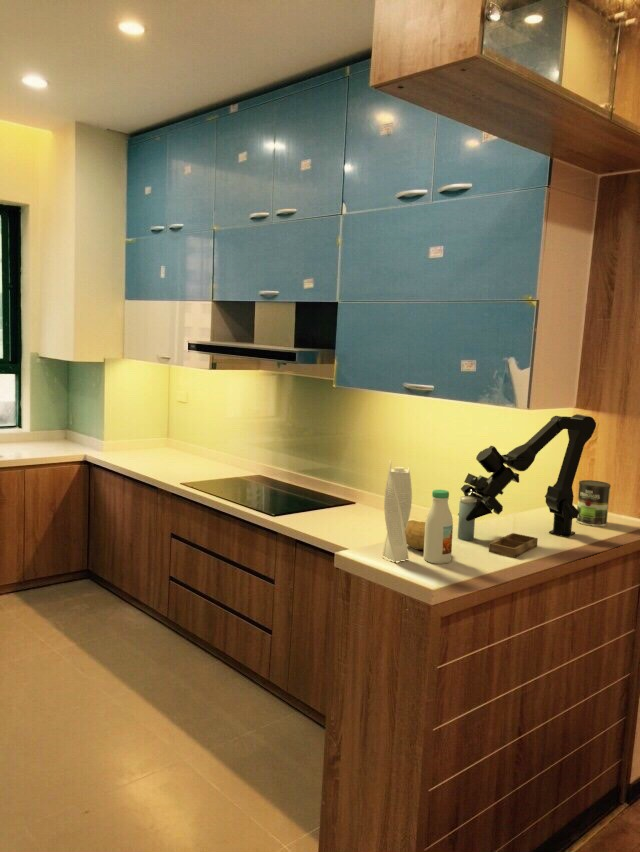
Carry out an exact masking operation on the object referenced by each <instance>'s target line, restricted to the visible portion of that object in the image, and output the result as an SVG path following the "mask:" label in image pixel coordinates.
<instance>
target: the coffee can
mask: <svg viewBox="0 0 640 852" xmlns="http://www.w3.org/2000/svg"><path fill="white" fill-rule="evenodd" d="M611 487H612V486H611V484H610V483H608V482H604V481H599V480H589V479H587V480H586V479H585V480H583V479H582V480H579V481H578V493H577V494H578V496H577V506H576V509H577V510H578V511H579V514H578V517H577V518H575V522H576V521H577V522H576V523H578V524H580V523H581V524H580V525H583V524H585V525H584V526H588V525H592V526H591V527H605V526H607V525H608V515H609V513H608V512H609V503H610V494H611V493H610V492H611V491H610V490H611Z"/></svg>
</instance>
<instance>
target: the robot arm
mask: <svg viewBox="0 0 640 852" xmlns="http://www.w3.org/2000/svg"><path fill="white" fill-rule="evenodd" d="M596 428H597V422H596V420H595V419H594V418H593V417H592V416H588V415H584V414H578V413H576V414H574V415H572V416H563V415H562V416H561V415H554V416H552V417H551V418H550V420H549V421H548V422H547V423H546V424H545V425H544V426H542V428H540V429H539V430H538V431H537V432H536V433H534V435H533V436H532V437H531V438H529V439H528V440H527V441H526V442H525V443H523V444H521V445H518V446H516V447H515V448H513V449H512V450H510V451H509V452H507V454H501V453H500V452H499V451H498V449H497V448H496V447H495V445H490V446H489V447H486V448H484V449H482V450H481V451H479V452H478V454H477V455H476V459H475V460H476V461H477V462H478V463H479V464H480V465H481V467H482V468H483V469H484V470H485V471H486V472H487V473H489V474H491V475H490V476H489V477H486V476H483V475H480V474H479V476H476V475H474V474H472V473H468V474H467V476H466V477H465V480H464V481H463V483H465V484H464V485H463V486H462V487H461V488H460V490H461V491H462V492H463V495H464V496H470V497H474V498H476V499H475V503H476V506H475V507H474V508H473V510H472V511H471V512H470V513H469V515H468V516H467V517H466V520H467V521H470V520H473V519H475V520H476V519H478V518H481V517H483V516H486V515H490V514H493V513H494V514H496V515H500V514H501V513H502V512H504V511H503V509H504V506H503V505H502V503H501V502H500V501H499V500H498V499H497V498H496V497H498V495H500V496H503V494H504V490H505V488H506V487H507V486H508V485H509V484H510V483H511V482H515V483H520V474H519V473H516V472H514V470H515V471H518V472H525V471H527V470H528V469H529V468H530V467H531V465H532V464H533V463H534V462H535V459H536V456H537V455H538V453H540V451H541V450H542V449H544V448H545V447H546V446H547V445H548V444H549V443H550V442H551V441H552V440H553V439H554V438H556V437H557V436H558V435H559V434H560V433H561V432H562V431H563V430H567V437H568V444H567V446H566V448H565V453H564V456H563V459H562V460H563V461H562V463H561V466H560V470H559V474H558V476H557V480H556V482H555V483H554V485H548V486H547V489H546V494H545V495H544V498H545V504H546V506H547V507H548V509H549V513H553V523H552V525H553V527H552V530H549V531H548V534H550V533H551V534H552V535H556V536H560V535H562V537H565V536H566V537H565V538H569V537H571V536H573V535H574V534H576V531H572V529H573V519H576V518H577V517H578V514H579V511H578V510H577V507H576V506H574V504H573V503H574V496H575V495H574V490H573V485H574V481H575V478H576V475H577V472H578V467H579V464H580V461H581V458H582V454H583V451H584V448H585V445H586V444H587V442H588V441H589V440H590V439H591V438H592V437H593V434H594V433H595V430H596ZM505 465H506V466H507V467H506V466H505ZM512 469H513V470H512ZM492 511H493V512H492ZM457 516H459V512H458V514H457ZM551 534H550V535H551Z"/></svg>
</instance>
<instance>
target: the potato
mask: <svg viewBox="0 0 640 852" xmlns="http://www.w3.org/2000/svg"><path fill="white" fill-rule="evenodd" d="M425 522H426V521H419V520H412V519H411V520H410V519H409V520H408V524H407V527H406V530H405V535H406V542H407V546H409V547H411V548H413V549H415V548H416V550H419V549H420V550H422V551H424V537H425Z"/></svg>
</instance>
